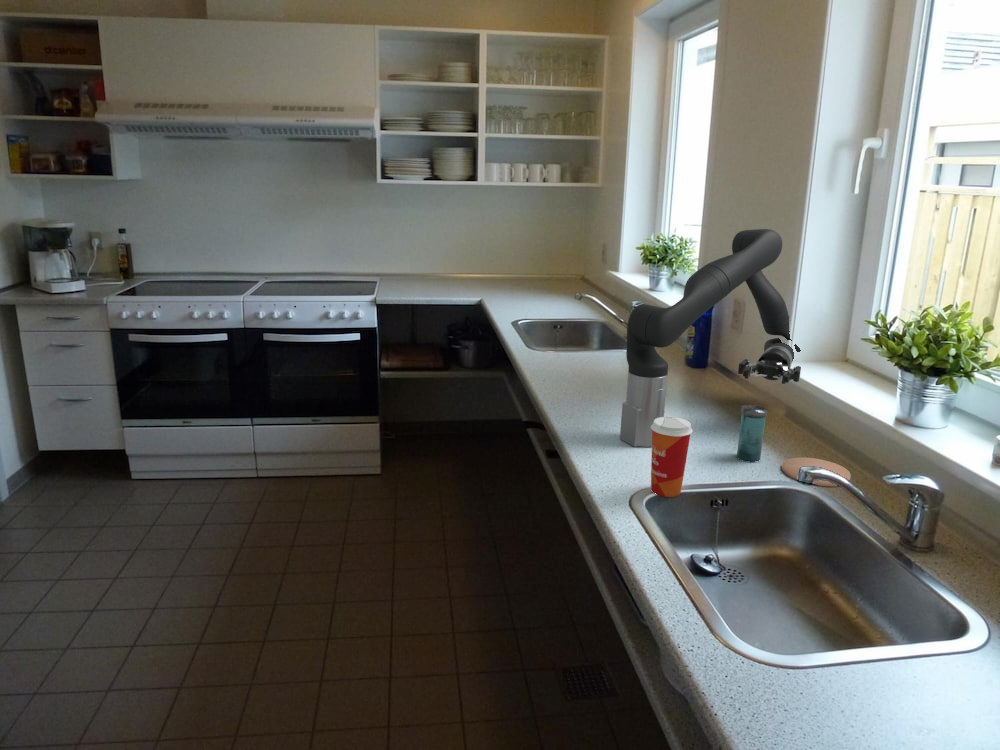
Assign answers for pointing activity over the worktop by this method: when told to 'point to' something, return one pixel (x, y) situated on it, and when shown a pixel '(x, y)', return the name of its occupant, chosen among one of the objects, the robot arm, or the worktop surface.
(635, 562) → the worktop surface
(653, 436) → the coffee cup
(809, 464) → the dish
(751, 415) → the canister
